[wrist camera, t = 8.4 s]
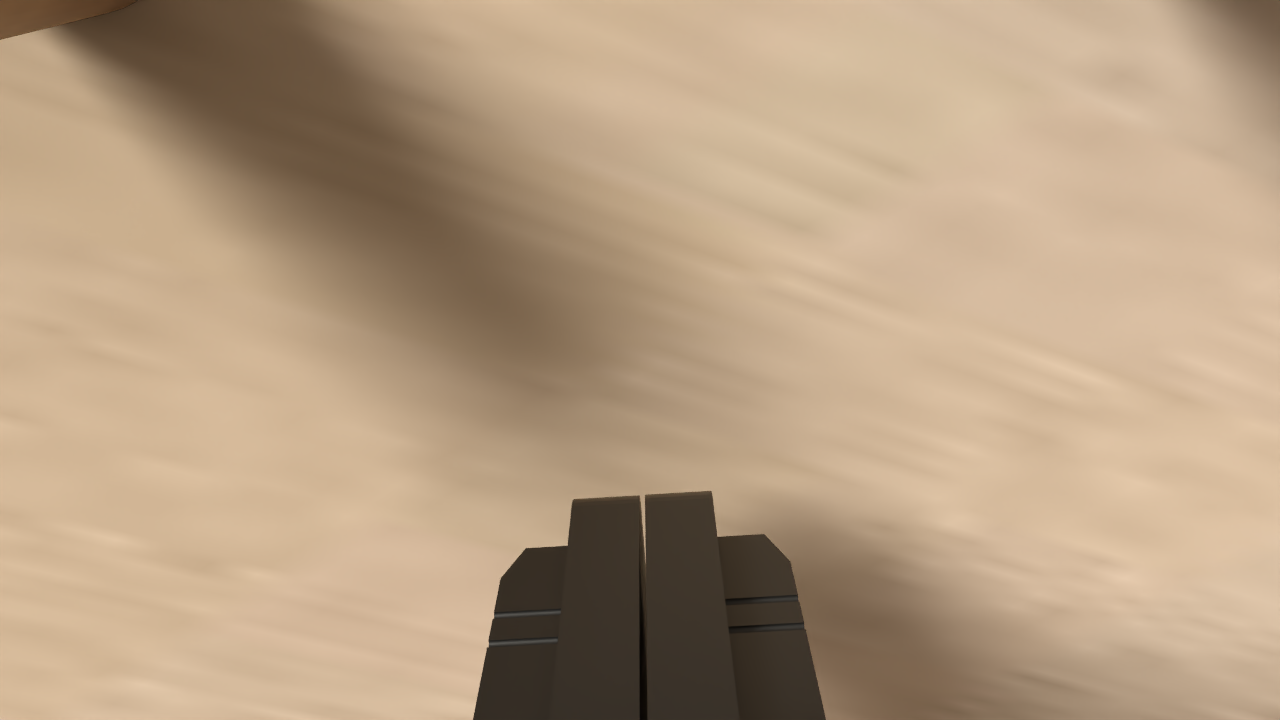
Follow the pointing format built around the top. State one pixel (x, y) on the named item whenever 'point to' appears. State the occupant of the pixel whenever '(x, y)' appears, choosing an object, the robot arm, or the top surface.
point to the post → (50, 13)
